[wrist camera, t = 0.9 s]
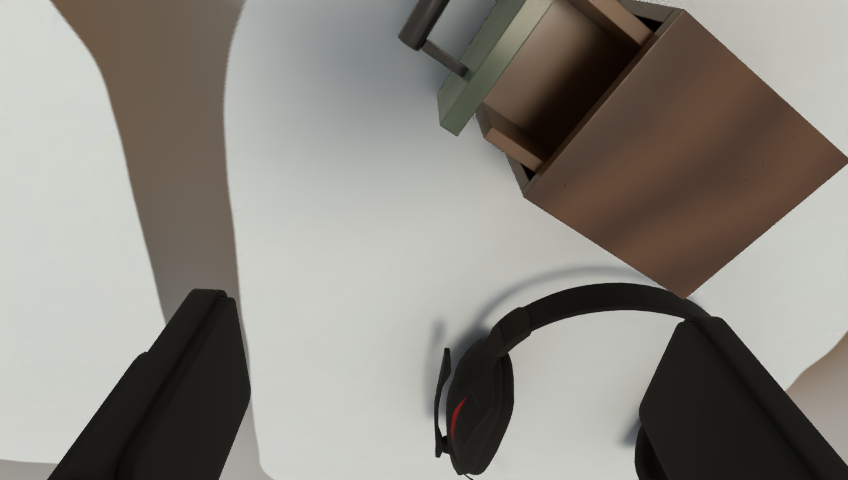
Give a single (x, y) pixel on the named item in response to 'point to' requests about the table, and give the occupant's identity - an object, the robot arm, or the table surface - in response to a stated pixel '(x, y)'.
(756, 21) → the table surface
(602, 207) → the cabinet
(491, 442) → the headset
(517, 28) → the drawer
